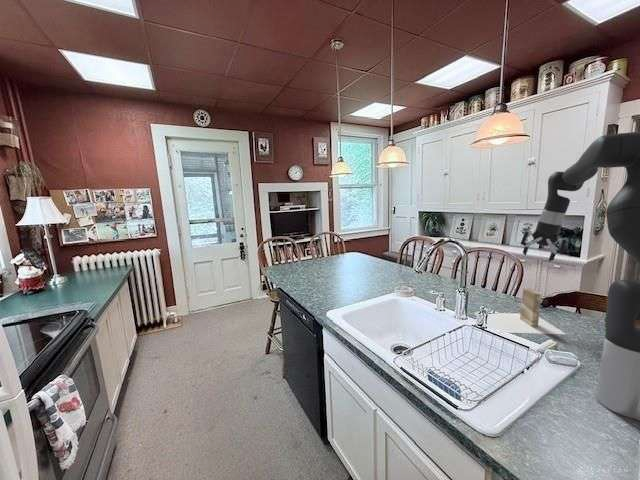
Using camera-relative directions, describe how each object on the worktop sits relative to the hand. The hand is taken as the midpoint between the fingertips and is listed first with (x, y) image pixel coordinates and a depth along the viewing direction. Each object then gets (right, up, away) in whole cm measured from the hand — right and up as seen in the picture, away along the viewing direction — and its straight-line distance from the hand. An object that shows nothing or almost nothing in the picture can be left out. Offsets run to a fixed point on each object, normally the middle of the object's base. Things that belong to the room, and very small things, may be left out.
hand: (537, 257), depth 115 cm
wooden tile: (-6, -27, -3) cm, 28 cm away
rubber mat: (-11, -28, -3) cm, 30 cm away
